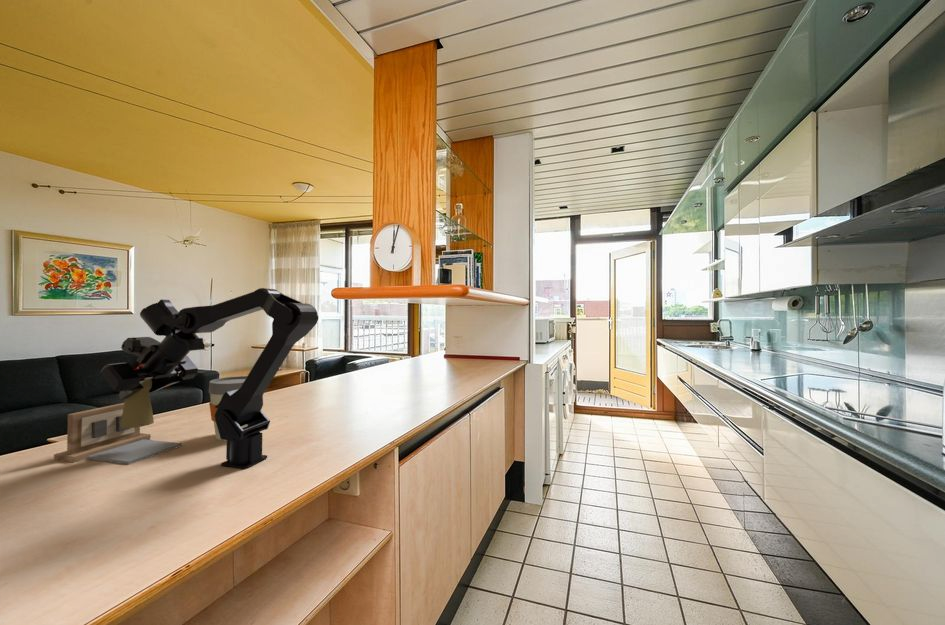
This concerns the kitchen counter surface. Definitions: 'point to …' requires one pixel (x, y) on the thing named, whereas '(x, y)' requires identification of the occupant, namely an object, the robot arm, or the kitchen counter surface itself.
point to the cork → (138, 408)
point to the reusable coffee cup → (218, 390)
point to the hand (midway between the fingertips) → (133, 396)
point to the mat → (134, 451)
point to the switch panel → (97, 433)
